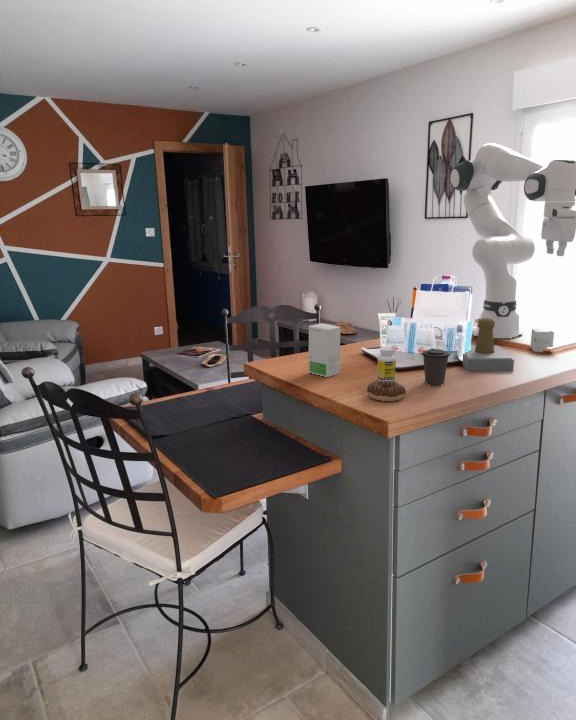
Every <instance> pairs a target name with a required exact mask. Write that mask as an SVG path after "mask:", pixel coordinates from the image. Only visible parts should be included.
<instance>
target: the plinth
mask: <svg viewBox="0 0 576 720" xmlns="http://www.w3.org/2000/svg"><path fill="white" fill-rule="evenodd" d="M470 346H471V350H470V351H468V352H465V354H463V364H462V366H463V367H464V368H465V371H467V372H514V366H515V359H514V358H513V357H512V356H511V355H509V354H508V353H507V352H506V351H505V350H504V349H503V348H502V347H501V346H499V345H494V353H492V354H481V353H477V352H475V348H476V345H470Z"/></svg>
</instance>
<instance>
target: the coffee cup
mask: <svg viewBox="0 0 576 720" xmlns="http://www.w3.org/2000/svg"><path fill="white" fill-rule="evenodd" d="M421 355H422V356H423V357H422V358H423V368H424V371H423V373H424V382H426V383H427V384H430V385H429V386H432V385H440V386H442V385H441V384H443V383H444V384H445V379H446V373H447V367H448V362H449V357H450V356H451V354H450V352H449V351H448V350H443V349H439V348H430V349H427V350H424V351H422V352H421ZM426 383H425V384H426ZM427 384H426V385H427ZM444 384H443V385H444Z"/></svg>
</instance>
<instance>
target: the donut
mask: <svg viewBox="0 0 576 720" xmlns="http://www.w3.org/2000/svg"><path fill="white" fill-rule="evenodd" d="M366 391H367V394H368V396H369V397H370V398H371V399H372V398H373V399H372V400H375V399H376V401H378V400H382V401H381V402H384V401H393V402H396V401H395V400H398V401H400V400H402V399H403V398H404V397H405V396H406V392H407V390H406V387H405V386H404V385H402V384H400V383H399V382H396V381H392V382H390V381H378V380H377V381H373V382H372V383H370V384H369V385H368V386H367V389H366Z"/></svg>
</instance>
